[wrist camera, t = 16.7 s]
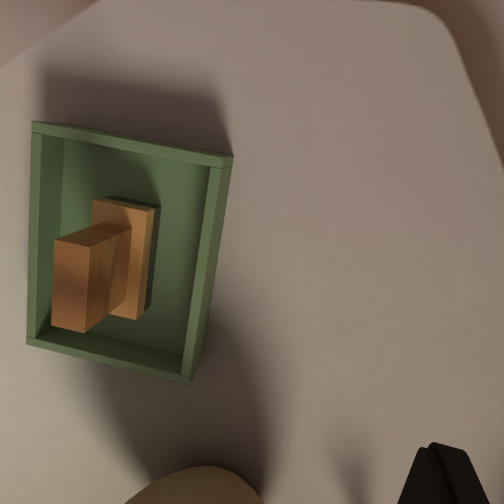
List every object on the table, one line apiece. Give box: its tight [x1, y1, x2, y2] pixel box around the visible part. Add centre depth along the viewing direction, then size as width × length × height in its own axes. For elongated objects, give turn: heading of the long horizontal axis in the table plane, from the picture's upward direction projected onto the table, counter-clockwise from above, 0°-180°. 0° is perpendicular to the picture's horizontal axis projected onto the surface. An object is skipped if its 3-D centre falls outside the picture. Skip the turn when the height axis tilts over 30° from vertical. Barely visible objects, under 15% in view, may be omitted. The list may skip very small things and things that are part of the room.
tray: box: [26, 121, 234, 385], centre depth 34 cm, size 19×15×4 cm
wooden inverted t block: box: [51, 196, 161, 333], centre depth 31 cm, size 9×4×9 cm, turn 170°
